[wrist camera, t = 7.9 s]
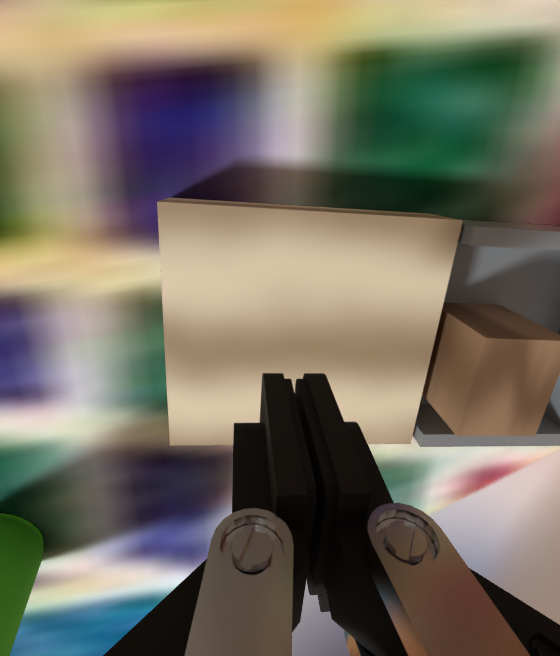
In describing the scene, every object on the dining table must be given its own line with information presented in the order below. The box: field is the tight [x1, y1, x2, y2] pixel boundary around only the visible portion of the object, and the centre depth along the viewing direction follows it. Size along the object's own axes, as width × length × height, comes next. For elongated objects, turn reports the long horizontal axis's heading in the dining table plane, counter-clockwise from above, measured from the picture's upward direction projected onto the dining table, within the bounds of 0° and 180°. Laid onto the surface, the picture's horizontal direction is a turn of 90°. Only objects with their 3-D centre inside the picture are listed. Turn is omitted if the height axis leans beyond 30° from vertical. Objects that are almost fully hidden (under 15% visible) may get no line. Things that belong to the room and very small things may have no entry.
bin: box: [413, 220, 560, 447], centre depth 20 cm, size 12×9×4 cm
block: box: [422, 302, 560, 437], centre depth 19 cm, size 5×5×4 cm
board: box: [157, 198, 463, 446], centre depth 19 cm, size 12×13×3 cm
